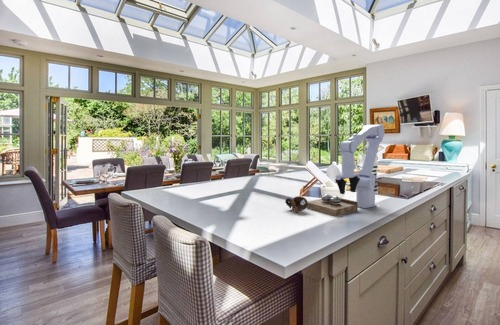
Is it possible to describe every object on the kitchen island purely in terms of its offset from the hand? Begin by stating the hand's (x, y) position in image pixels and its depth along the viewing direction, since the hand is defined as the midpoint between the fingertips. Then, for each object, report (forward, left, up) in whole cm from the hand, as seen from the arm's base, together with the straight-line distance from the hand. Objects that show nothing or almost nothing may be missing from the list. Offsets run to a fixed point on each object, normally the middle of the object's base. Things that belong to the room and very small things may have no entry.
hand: (347, 192), depth 144 cm
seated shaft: (+3, -11, -9) cm, 15 cm away
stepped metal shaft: (+3, -5, -9) cm, 11 cm away
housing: (+3, -8, -9) cm, 13 cm away
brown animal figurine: (+19, -17, -10) cm, 27 cm away
